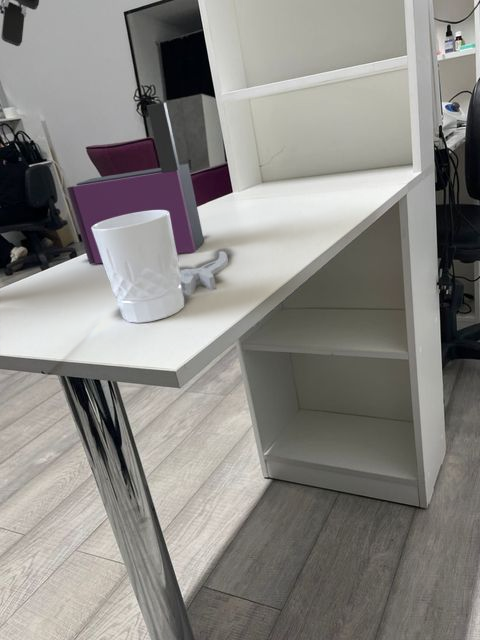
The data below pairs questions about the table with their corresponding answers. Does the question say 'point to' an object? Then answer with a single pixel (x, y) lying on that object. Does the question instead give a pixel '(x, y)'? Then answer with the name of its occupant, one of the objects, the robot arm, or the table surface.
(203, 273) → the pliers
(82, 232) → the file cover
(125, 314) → the white cup
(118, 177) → the file box
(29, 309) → the table surface
